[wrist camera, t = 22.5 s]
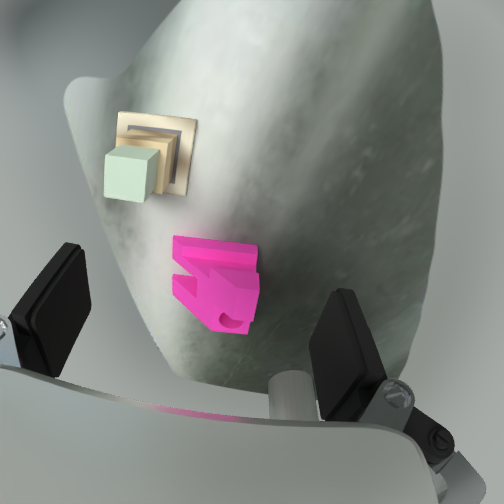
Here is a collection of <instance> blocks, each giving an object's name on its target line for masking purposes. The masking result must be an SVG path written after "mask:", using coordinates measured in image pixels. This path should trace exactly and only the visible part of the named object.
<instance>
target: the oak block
mask: <svg viewBox="0 0 504 504" xmlns="http://www.w3.org/2000/svg"><path fill="white" fill-rule="evenodd" d="M177 136H178V135H177V134H170V133H162V132H154V131H146V130H137V129H131V130H129V131H127V132H125V133H123V134H122V135H120V136H118V137H117V140H116V148H117V147H118V146H120V145H121V144H124V145H132V146H140V147H148V148H155V149H160V151H159V159H158V168H157V177H156V187H155V189H154V190H153V191H152V193H156V194H163V192H164V191H165V189H166V187H167V186H168V184H169V183H170V181H171V180H172V172H173V164H174V157H175V149H176V142H177Z"/></svg>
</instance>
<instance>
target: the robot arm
mask: <svg viewBox="0 0 504 504" xmlns="http://www.w3.org/2000/svg"><path fill="white" fill-rule="evenodd" d="M90 310H91V298H90V292H89V284H88V277H87V269H86V260H85V252H84V250H83V249H81V247H80V245H78V244H73V243H67V242H66V243H64V244H63V246H62V247H61V248H60V249H59V250H58V252H57V253H56V254H55V255H54V256H53V258H52V259H51V260H50V261H49V263H48V264H47V265H46V266H45V268H44V269H43V270H42V271H41V273H40V274H39V275H38V276H37V278H36V279H35V280H34V282H33V283H32V284H31V286H30V287H29V288H28V290H27V291H26V292H25V294H24V295H23V297H22V298H21V299H20V301H19V302H18V303H17V305H16V306H15V308H14V309H13V310H12V312H11V314H10V315H9V317H8V318H7V317H5V316H3V315H0V504H479V503H480V502H481V501H482V499H483V498H484V496H485V494H486V485H485V482H484V480H483V478H482V477H481V476H480V475H479V474H478V473H477V471H476V470H475V469H474V468H473V467H472V466H471V464H470V463H469V462H468V461H467V460H466V459H465V457H464V456H463V455H462V454H461V453H460V452H459V451H457V452H455V451H454V447H455V444H454V439H453V436H452V435H451V433H450V432H449V431H448V430H447V429H446V428H444V427H443V426H441V425H440V424H439V423H437V422H435V421H434V420H433V419H431V418H430V417H428V416H427V415H425V414H424V413H423V412H421V411H420V410H418V409H417V408H416V407H414V403H415V397H414V394H413V391H412V390H411V388H410V387H409V386H408V385H407V384H406V383H404V382H403V381H401V380H398V379H387V376H386V373H385V370H384V367H383V364H382V362H381V359H380V356H379V353H378V350H377V348H376V345H375V342H374V340H373V337H372V334H371V332H370V329H369V327H368V326H367V323H366V321H365V318H364V316H363V313H362V310H361V308H360V305H359V303H358V300H357V298H356V295H355V293H354V291H353V290H351V289H343V288H338V289H337V290H336V291H332V293H331V295H330V297H329V299H328V301H327V304H326V306H325V308H324V310H323V313H322V315H321V317H320V319H319V321H318V323H317V326H316V328H315V330H314V332H313V334H312V336H311V338H310V342H309V350H310V356H311V361H312V367H313V373H314V379H315V385H316V391H317V397H318V403H319V409H320V415H321V418H322V419H323V420H325V421H319V419H318V413H317V406H316V400H315V394H314V387H313V381H312V377H311V376H310V375H309V374H308V373H306V372H303V371H299V370H289V371H284V372H280V373H278V374H276V375H274V376H273V377H272V378H270V380H269V382H268V392H269V412H270V419H260V418H259V419H258V418H248V417H236V416H227V415H220V414H211V413H204V412H196V411H190V410H184V409H178V408H172V407H166V406H161V405H156V404H151V403H146V402H141V401H137V400H132V399H128V398H123V397H119V396H115V395H111V394H107V393H103V392H100V391H96V390H92V389H89V388H85V387H81V386H78V385H74V384H72V383H68V382H65V381H61V380H58V379H55V377H59V376H60V374H61V372H62V369H63V367H64V365H65V362H66V360H67V358H68V356H69V354H70V352H71V350H72V347H73V345H74V343H75V341H76V339H77V337H78V335H79V333H80V331H81V329H82V327H83V325H84V323H85V321H86V319H87V317H88V315H89V313H90Z"/></svg>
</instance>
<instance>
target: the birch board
mask: <svg viewBox="0 0 504 504" xmlns="http://www.w3.org/2000/svg"><path fill="white" fill-rule="evenodd" d="M196 123H197V119H190V118H183V117H175V116H166V115H157V114H147V113H136V112H124V111H121V112H118V123H117V134H116V140H117V137H118V136H120V135H122V134H123V133H125V132H127V131H129V130H131V129H137V130H146V131H154V132H162V133H170V134H177V135H178V136H177V142H176V149H175V157H174V164H173V172H172V180H171V181H170V183H169V184H168V186H167V187H166V189H165V191H164V192H163V193H169V194H175V195H181V196H185V195H186V191H187V183H188V176H189V169H190V161H191V155H192V148H193V141H194V135H195V129H196Z"/></svg>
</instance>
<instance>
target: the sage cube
mask: <svg viewBox="0 0 504 504" xmlns="http://www.w3.org/2000/svg"><path fill="white" fill-rule="evenodd" d="M159 151H160V149H155V148H148V147H140V146H132V145H124V144H121V145H120V146H118V147H117V148H115V149H114V150H112V151H111V152H109V153H108V154H106V155H105V173H104V197H109V198H115V199H121V200H128V201H134V202H140V203H144V202H145V201H146V200H147V198H148V197H149V195H150V194H151V193H152V191H153V190H154V189H155V187H156V177H157V168H158V159H159Z"/></svg>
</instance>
